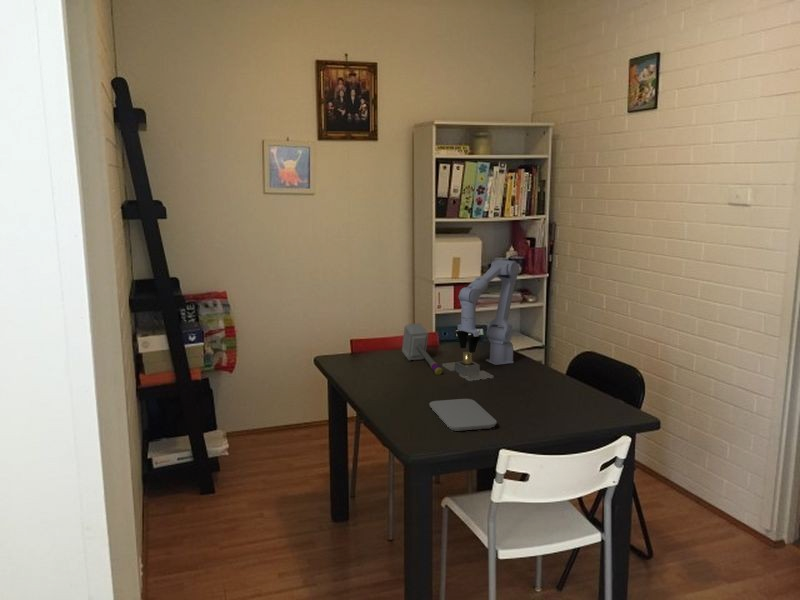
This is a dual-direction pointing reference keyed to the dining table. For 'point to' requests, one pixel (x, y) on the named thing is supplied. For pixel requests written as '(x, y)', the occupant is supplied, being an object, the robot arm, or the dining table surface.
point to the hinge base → (468, 370)
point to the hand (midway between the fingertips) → (467, 350)
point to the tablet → (462, 414)
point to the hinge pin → (467, 358)
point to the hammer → (417, 345)
